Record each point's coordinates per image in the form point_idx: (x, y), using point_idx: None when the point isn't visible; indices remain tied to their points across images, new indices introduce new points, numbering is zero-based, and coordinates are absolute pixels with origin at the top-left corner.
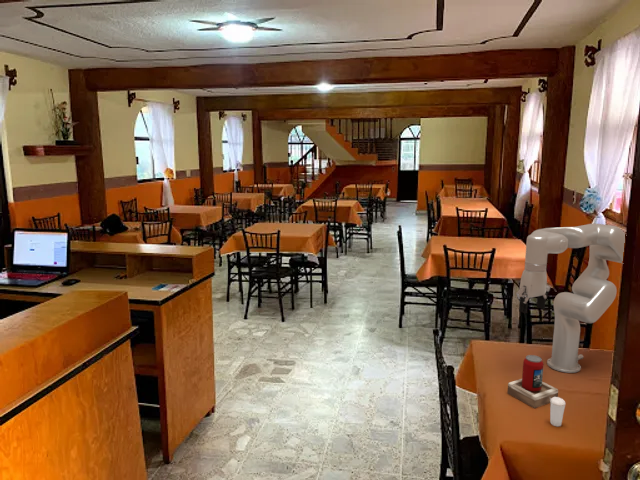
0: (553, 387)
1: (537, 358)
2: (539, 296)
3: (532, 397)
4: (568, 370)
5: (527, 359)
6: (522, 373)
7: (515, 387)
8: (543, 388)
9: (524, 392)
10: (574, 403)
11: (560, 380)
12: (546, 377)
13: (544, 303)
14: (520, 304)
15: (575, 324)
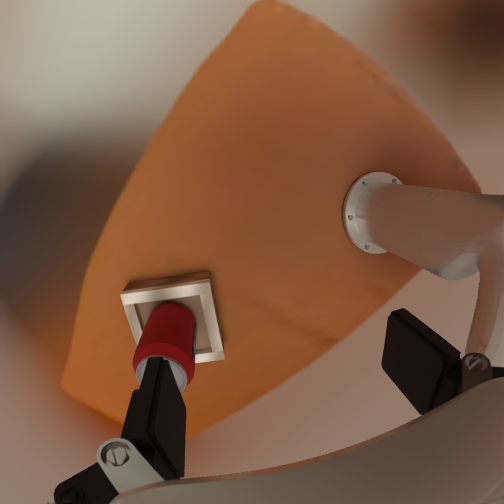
0: (221, 349)
1: (175, 379)
2: (454, 386)
3: None
4: (361, 248)
5: (136, 374)
6: (143, 330)
7: (127, 316)
8: (204, 330)
9: (136, 341)
10: (249, 360)
11: (309, 271)
12: (290, 246)
13: (410, 396)
14: (125, 431)
15: (469, 275)
